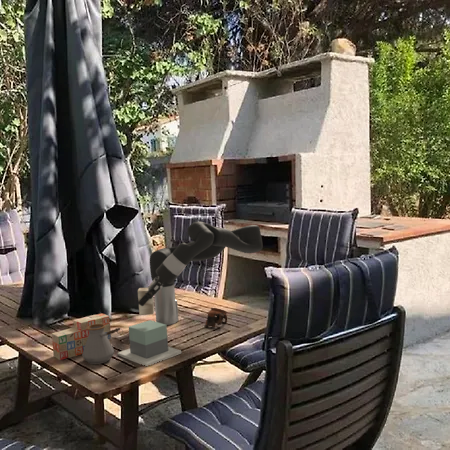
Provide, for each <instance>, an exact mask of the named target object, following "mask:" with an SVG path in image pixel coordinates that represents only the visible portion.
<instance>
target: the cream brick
mask: <svg viewBox="0 0 450 450" xmlns="http://www.w3.org/2000/svg"><path fill="white" fill-rule="evenodd" d="M148 288H149V286H148V287H139V288H138V289H137V298H138V299H137V300H138V302H139V301H140V300H141V298H142V297H143V296H144V295H145V293H146V292H147V291H148ZM149 294H150V295H152V293H151V292H149ZM138 311H139V312H138V313H139V316H148V315H149V316H150V315H154V313H155V299H154V296H153V297H152V298H151V299H149V300H148V301H147V302H146V303H145V304H144V306H141V305H140V304H139V303H138Z"/></svg>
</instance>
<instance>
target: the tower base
mask: <svg viewBox="0 0 450 450" xmlns="http://www.w3.org/2000/svg"><path fill="white" fill-rule="evenodd" d="M167 327H168V325H166V324H162V323H159V322H156V320H155V321H154V320H151V319H149V320H145V321H143V322H140V323H136V324H132V325H129V326H128V338H129V340H128V341H129V348H127V349H124V350H122V351H119V352H117V356H119V357H121V358H123V359H126V360H129V361H131V362H134V363H136V364H139V365H141V364H142V365H141V366H144V365H145V366H144V367H146V366H147V367H149V366H148V365H150V366H152V365H155V364H157V362H158V363H160V362H163V361H165V360H168V359H170V358H173V357H175V356H177V355H178V356H179V355H180V354H182V350H180V349H178V348H174V347H172V346H169V341H168V329H167ZM162 360H163V361H162ZM159 361H160V362H159ZM154 363H155V364H154ZM151 364H152V365H151Z"/></svg>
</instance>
